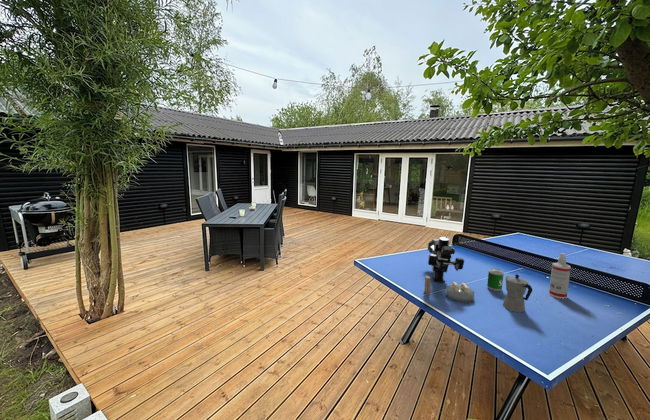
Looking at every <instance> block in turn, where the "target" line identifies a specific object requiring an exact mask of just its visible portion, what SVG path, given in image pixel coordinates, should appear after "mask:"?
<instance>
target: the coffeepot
mask: <svg viewBox="0 0 650 420" xmlns="http://www.w3.org/2000/svg"><path fill="white" fill-rule="evenodd" d="M505 289H506V295H505V296H504V301H503V303H502V305H503V308H505V309H506V310H509V311H511V312H515V313H523V312H525V311H526V305H525V301H528V300H529V298H530V297H531V294H532V293H533V288H532V286H531V285H530V284H529V282H528V281H527V280H526V279H524V278H521V277H520V275H519V274H515V277H514V276H511V275H507V276H506V275H505ZM526 291H527V292H526ZM524 295H525V297H524Z"/></svg>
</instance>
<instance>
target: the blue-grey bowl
mask: <svg viewBox="0 0 650 420" xmlns="http://www.w3.org/2000/svg"><path fill="white" fill-rule="evenodd" d="M460 284H461V285H460ZM460 284H458V283H457V282H456V281H452V284H449V285H447V286H446V289H445V296H446V295H447V296H446V297H447V298H448V297H449V299H450V300H452V301H454V302H459V303H472V302H474V300H475V291H474V290H473V289H472V288H470V287H469V286H468V285H467V284H466V283H465V282H461V283H460Z"/></svg>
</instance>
